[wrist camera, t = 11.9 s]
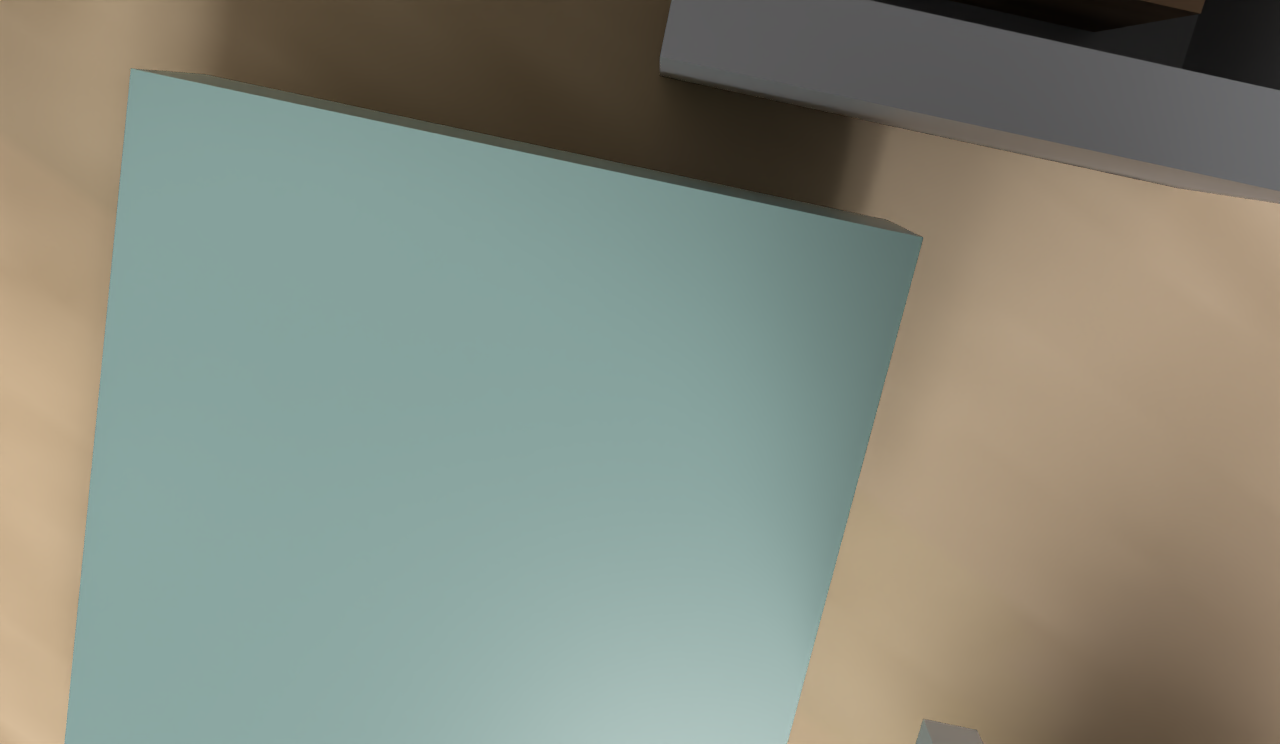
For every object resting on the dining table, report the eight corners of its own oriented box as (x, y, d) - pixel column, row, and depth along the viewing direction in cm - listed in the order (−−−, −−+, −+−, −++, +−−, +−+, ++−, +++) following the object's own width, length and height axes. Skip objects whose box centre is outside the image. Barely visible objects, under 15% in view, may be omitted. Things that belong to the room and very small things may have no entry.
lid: (869, 211, 19) (923, 237, 15) (684, 935, 23) (689, 1107, 19) (240, 77, 19) (131, 68, 15) (149, 832, 22) (40, 986, 18)
